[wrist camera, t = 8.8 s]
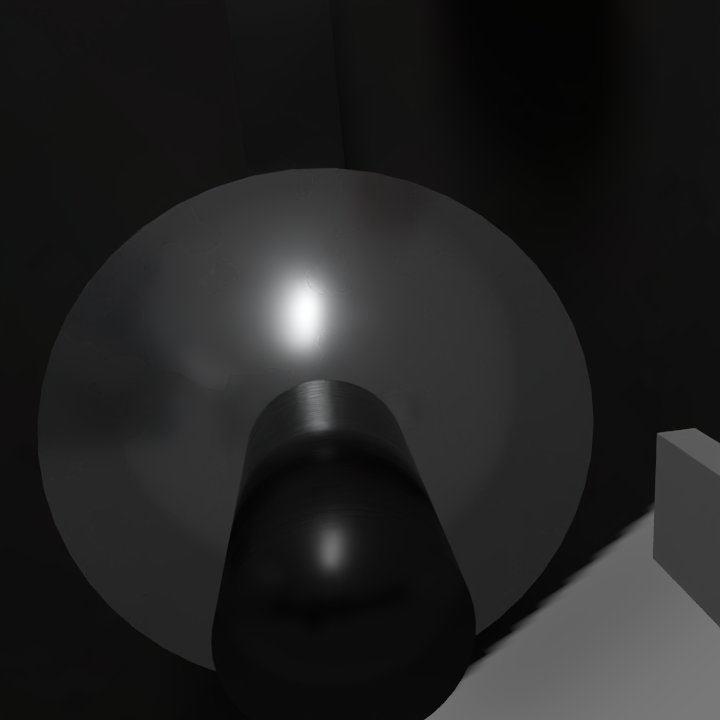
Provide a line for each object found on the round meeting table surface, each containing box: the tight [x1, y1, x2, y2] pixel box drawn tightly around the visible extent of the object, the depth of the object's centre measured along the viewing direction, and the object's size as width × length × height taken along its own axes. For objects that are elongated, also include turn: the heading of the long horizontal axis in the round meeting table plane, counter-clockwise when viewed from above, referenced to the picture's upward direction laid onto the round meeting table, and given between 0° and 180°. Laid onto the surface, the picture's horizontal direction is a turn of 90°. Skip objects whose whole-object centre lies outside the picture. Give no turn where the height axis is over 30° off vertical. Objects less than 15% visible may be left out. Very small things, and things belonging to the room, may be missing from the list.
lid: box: [38, 168, 593, 720], centre depth 14 cm, size 14×14×8 cm
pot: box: [225, 0, 345, 177], centre depth 20 cm, size 13×26×8 cm, turn 5°
